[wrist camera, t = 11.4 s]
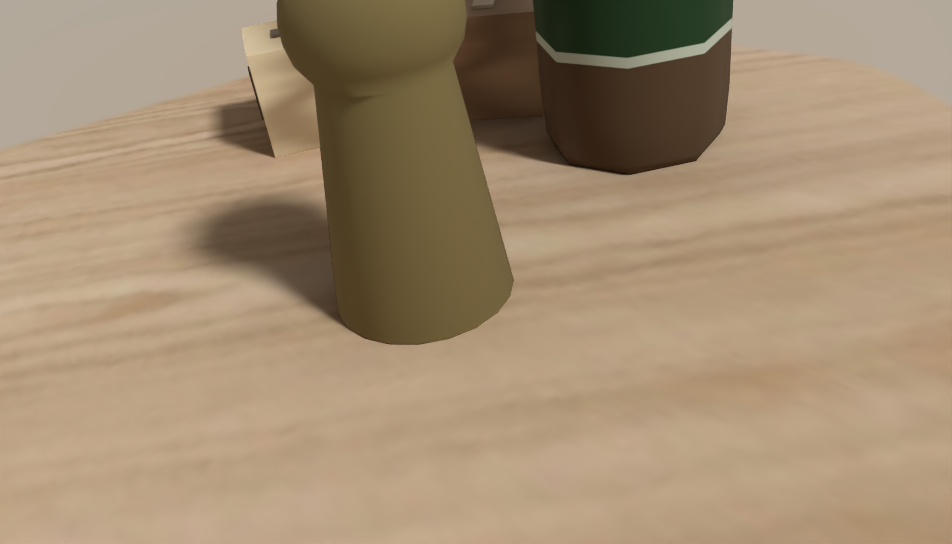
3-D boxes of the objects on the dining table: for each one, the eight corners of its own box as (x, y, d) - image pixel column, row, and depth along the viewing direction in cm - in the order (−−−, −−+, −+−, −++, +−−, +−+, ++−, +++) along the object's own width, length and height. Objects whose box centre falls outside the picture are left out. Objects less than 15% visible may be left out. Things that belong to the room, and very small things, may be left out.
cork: (324, 268, 30) (238, -49, 24) (481, 225, 31) (438, -87, 25) (353, 366, 25) (255, -3, 19) (540, 311, 26) (504, -53, 20)
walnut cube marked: (437, 123, 40) (420, 17, 37) (454, 85, 44) (440, -13, 41) (543, 116, 39) (534, 8, 36) (550, 78, 43) (542, -23, 40)
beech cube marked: (272, 160, 39) (241, 54, 36) (265, 123, 43) (237, 25, 40) (378, 135, 40) (356, 30, 37) (361, 101, 44) (340, 4, 41)
